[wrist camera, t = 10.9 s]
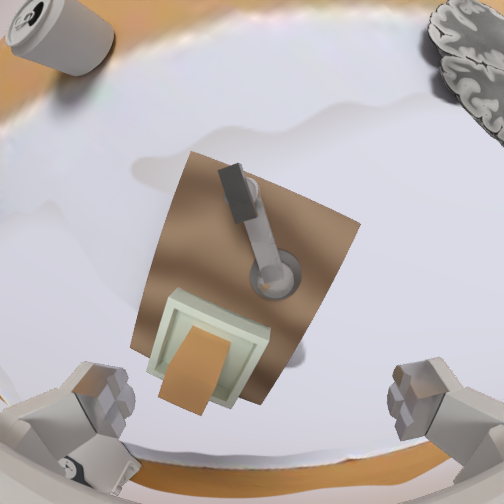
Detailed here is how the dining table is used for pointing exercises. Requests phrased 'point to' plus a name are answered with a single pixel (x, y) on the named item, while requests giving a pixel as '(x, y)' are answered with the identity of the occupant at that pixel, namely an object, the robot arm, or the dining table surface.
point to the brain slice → (472, 59)
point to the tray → (215, 322)
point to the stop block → (194, 370)
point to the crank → (256, 230)
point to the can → (60, 35)
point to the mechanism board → (243, 263)
